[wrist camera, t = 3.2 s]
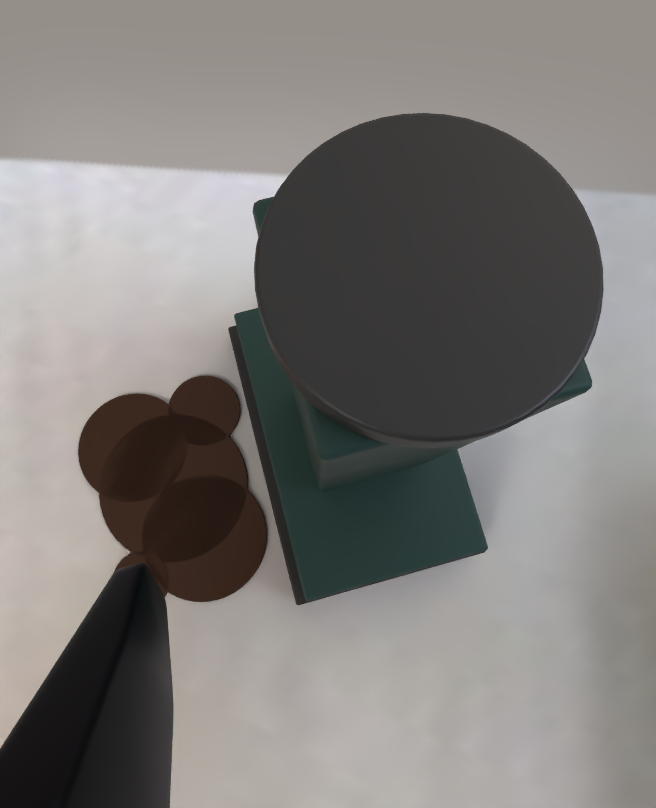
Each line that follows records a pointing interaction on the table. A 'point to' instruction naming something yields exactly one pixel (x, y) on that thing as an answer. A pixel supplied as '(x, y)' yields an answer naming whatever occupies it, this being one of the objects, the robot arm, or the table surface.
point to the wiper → (406, 337)
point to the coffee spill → (177, 487)
